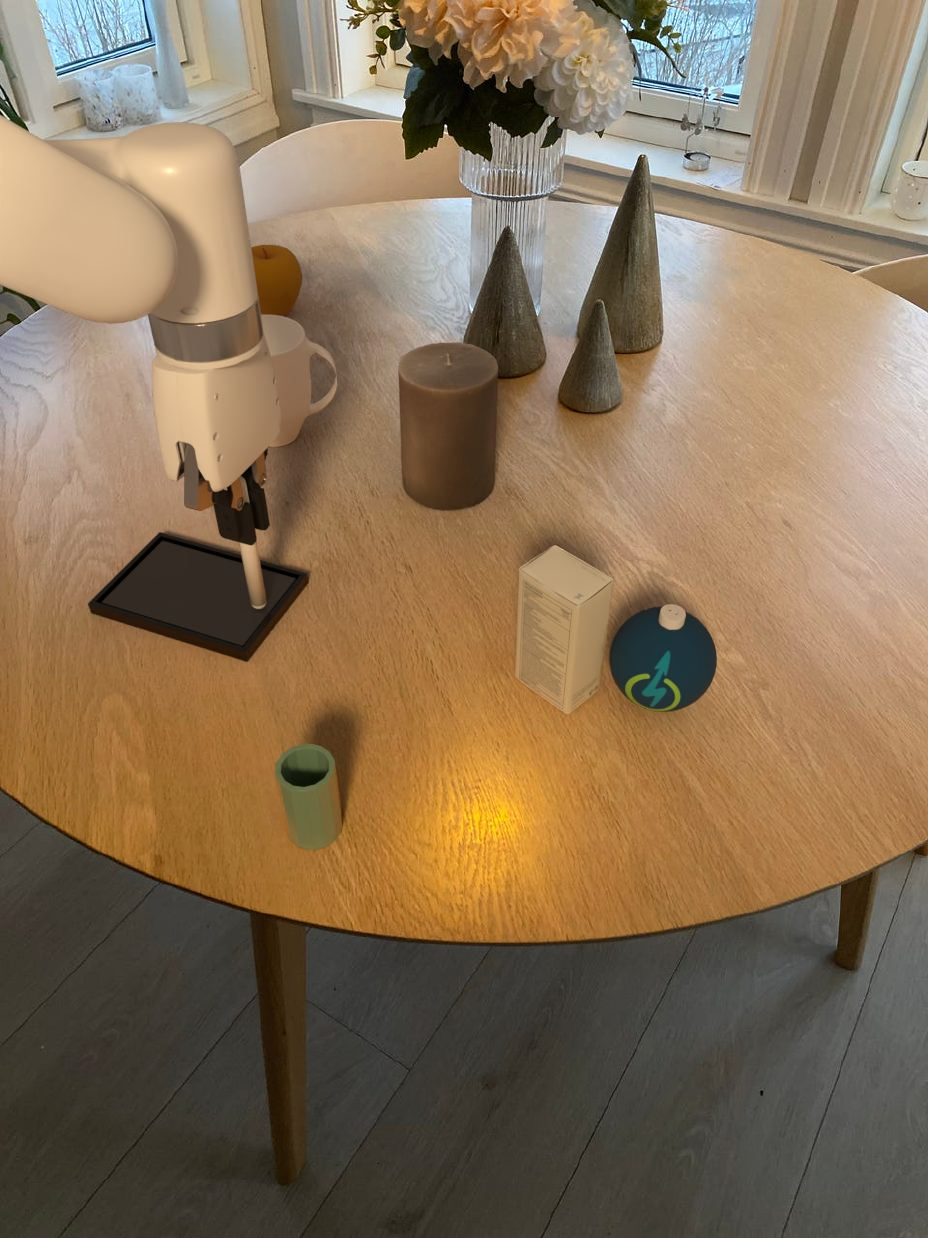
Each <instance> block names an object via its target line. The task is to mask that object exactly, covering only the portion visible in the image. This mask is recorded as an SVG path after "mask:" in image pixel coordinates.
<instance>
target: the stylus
mask: <svg viewBox="0 0 928 1238" xmlns="http://www.w3.org/2000/svg"><path fill="white" fill-rule="evenodd" d="M240 480H241V485H242V489H243V494H244V499H245V502H248V503H250V502H249V497H248V491H247V485H246V481H245V479H244V478H243V477H242V476H240ZM238 544H239V549H240V555H242V560H243V565H244V571H245V576H246V581H247V586H248V592H249V597H250V602H251V605H252V606H253V607H254V608H256V609H262V608H263V607H265V605H266V603H267V599H266V594H265V588H264V582H263V577H262V571H261V565H260V560H261V559H260V554H259V549H258V543H257V541H256V542H255V543H254V544H253V545H252V546H251V545H247V544H243V543H239V542H238Z"/></svg>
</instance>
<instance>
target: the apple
mask: <svg viewBox="0 0 928 1238" xmlns="http://www.w3.org/2000/svg"><path fill="white" fill-rule="evenodd" d="M251 250H252V257H253V264H254V271H255V278H256V285H257V292H258V299H259V306H260V313H261V315H278V316H283V317H287V315H289V314H290V313H291V312H292V310H293V308H294V307H295V305H296V302H297V300H298V298H299V295H300V292H301V287H302V284H303V272H302V269H301V265H300V263H299V260H298V258H297V256H296V255H295V254H294V253H293V252H292V251H291V250H290V249H288V248H287V247H286V246H285V247H284V246H281V245H277V244H259V245H254V246H251Z"/></svg>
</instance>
